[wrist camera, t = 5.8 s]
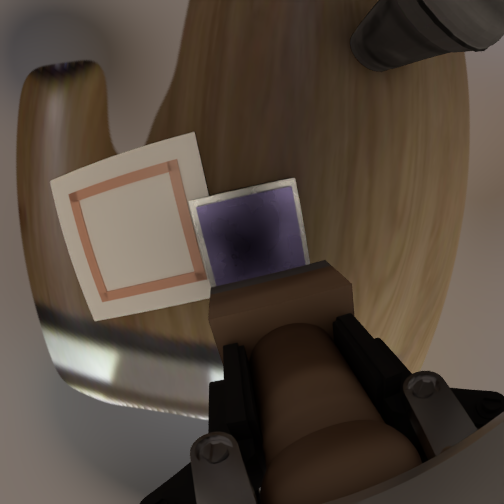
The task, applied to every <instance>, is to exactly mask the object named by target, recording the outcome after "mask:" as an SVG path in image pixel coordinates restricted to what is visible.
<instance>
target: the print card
mask: <svg viewBox="0 0 504 504" xmlns="http://www.w3.org/2000/svg"><path fill="white" fill-rule="evenodd" d="M50 183H51V188H52V193H53V197H54V201H55V205H56V209H57V213H58V217H59V221H60V224H61V228H62V232H63V235H64V238H65V242H66V245H67V248H68V251H69V254H70V258H71V261H72V263H73V266H74V269H75V272H76V275H77V278H78V281H79V283H80V286H81V289H82V291H83V294H84V296H85V299H86V301H87V304H88V306H89V309H90V311H91V313H92V316H93V318H94V320H95V321H98V320H104V319H109V318H115V317H120V316H125V315H130V314H136V313H141V312H146V311H151V310H156V309H161V308H165V307H170V306H175V305H180V304H185V303H189V302H194V301H199V300H203V299H208V298H210V290H211V286H210V282H209V278H208V275H207V271H206V268H205V264H204V260H203V256H202V253H201V249H200V245H199V241H198V237H197V234H196V230H195V226H194V222H193V218H192V214H191V210H190V206H189V201H190V200H194V199H198V198H202V197H206V196H209V193H208V189H207V185H206V180H205V176H204V172H203V167H202V163H201V158H200V154H199V149H198V145H197V140H196V136H195V132H192V133H188V134H185V135H181V136H177V137H173V138H170V139H166V140H163V141H159V142H156V143H152V144H149V145H146V146H143V147H139V148H136V149H133V150H130V151H127V152H124V153H121V154H118V155H115V156H112V157H109V158H107V159H104V160H101V161H98V162H96V163H93V164H90V165H88V166H85V167H83V168H80V169H78V170H75V171H73V172H70V173H68V174H65V175H63V176H61V177H58V178H56V179H54V180H51V181H50Z"/></svg>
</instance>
